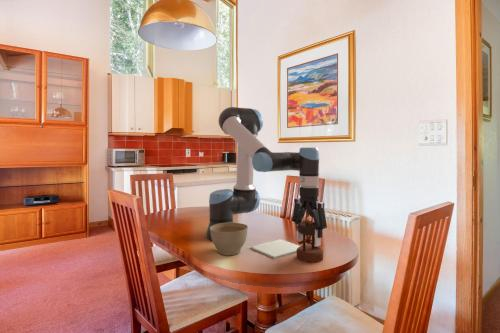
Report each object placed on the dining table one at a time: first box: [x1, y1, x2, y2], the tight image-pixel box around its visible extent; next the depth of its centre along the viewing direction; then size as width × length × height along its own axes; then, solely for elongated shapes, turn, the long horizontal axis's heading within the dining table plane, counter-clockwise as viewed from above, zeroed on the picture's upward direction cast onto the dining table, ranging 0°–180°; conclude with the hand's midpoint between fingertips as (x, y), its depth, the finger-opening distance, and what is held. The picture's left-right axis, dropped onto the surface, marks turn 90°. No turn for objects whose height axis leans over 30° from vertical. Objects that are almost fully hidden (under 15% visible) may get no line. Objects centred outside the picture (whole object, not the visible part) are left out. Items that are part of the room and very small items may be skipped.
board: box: [250, 238, 301, 259], centre depth 131 cm, size 16×18×1 cm
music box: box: [296, 210, 324, 264], centre depth 118 cm, size 15×11×20 cm
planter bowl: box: [210, 222, 249, 256], centre depth 127 cm, size 16×16×11 cm
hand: (308, 242), depth 119 cm, fingers closed on music box, 9 cm apart
